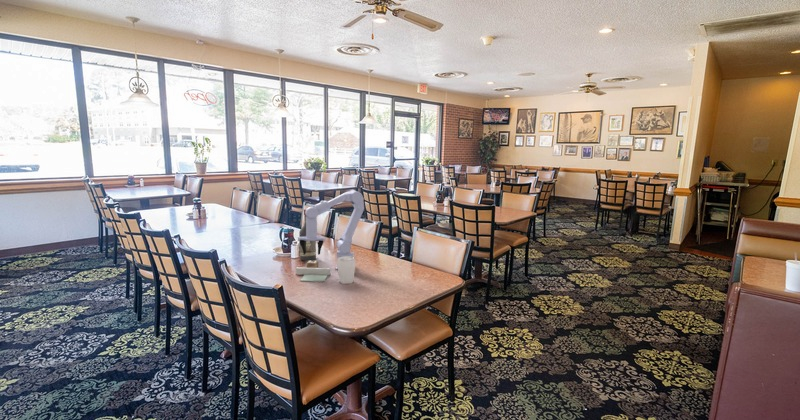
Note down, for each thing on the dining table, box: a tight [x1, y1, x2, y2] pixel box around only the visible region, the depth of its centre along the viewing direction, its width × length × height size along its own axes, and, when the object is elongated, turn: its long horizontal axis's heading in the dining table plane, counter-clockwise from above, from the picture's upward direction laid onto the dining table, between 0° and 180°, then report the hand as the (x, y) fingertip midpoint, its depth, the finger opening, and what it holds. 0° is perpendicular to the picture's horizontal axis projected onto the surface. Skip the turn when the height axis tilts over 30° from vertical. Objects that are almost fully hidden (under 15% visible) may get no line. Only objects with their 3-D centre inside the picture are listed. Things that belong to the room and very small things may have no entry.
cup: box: [336, 256, 356, 285], centre depth 189 cm, size 9×9×12 cm
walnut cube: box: [306, 260, 319, 268], centre depth 206 cm, size 5×5×5 cm
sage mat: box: [299, 275, 329, 283], centre depth 193 cm, size 12×9×1 cm
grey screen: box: [295, 266, 331, 276], centre depth 199 cm, size 18×1×4 cm, turn 90°
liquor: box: [298, 208, 317, 262], centre depth 226 cm, size 9×9×30 cm
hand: (312, 253), depth 205 cm, fingers open, 7 cm apart
